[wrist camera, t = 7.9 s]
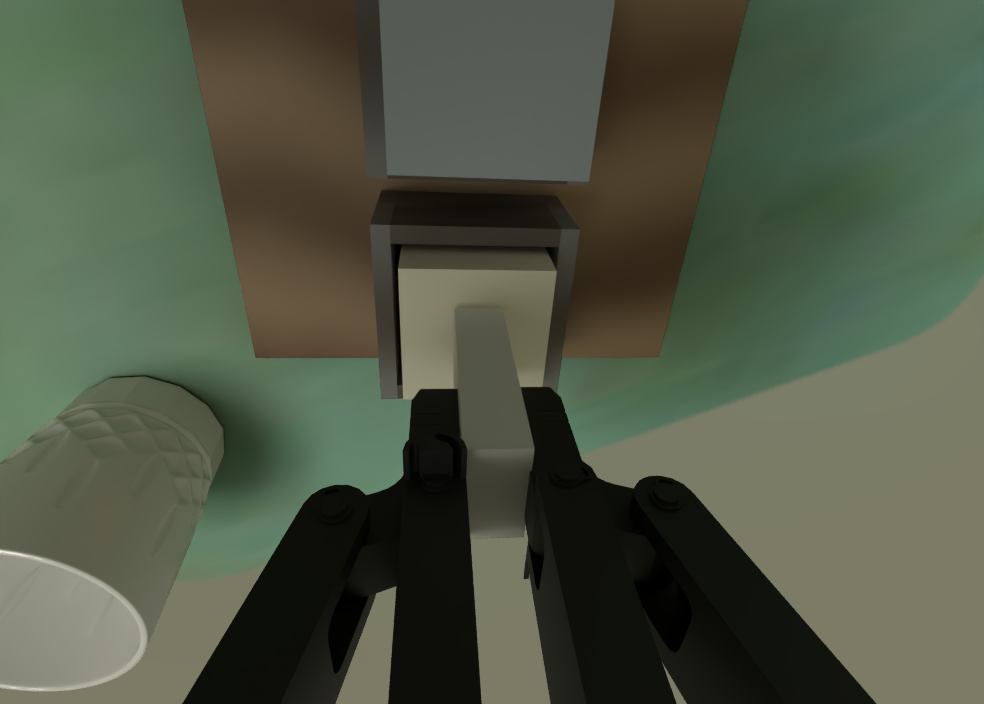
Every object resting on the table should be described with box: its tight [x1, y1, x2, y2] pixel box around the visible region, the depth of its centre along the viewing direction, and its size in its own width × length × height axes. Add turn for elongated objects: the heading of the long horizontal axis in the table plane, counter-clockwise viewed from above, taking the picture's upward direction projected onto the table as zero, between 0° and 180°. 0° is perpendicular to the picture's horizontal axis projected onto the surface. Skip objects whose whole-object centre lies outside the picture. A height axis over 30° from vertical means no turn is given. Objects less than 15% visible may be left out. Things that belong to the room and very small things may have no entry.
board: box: [182, 0, 749, 399], centre depth 17 cm, size 24×18×5 cm
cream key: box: [398, 244, 557, 399], centre depth 19 cm, size 5×5×5 cm
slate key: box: [379, 0, 615, 182], centre depth 14 cm, size 5×5×5 cm
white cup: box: [0, 376, 224, 691], centre depth 22 cm, size 8×8×10 cm
